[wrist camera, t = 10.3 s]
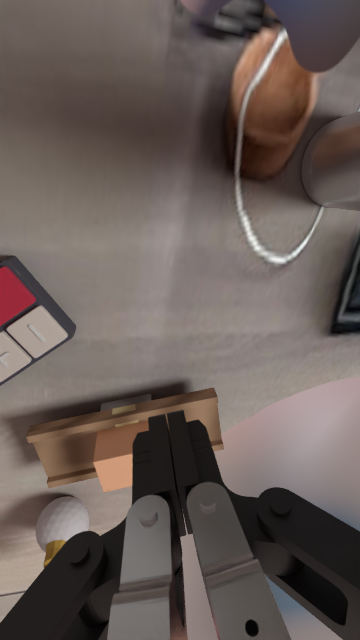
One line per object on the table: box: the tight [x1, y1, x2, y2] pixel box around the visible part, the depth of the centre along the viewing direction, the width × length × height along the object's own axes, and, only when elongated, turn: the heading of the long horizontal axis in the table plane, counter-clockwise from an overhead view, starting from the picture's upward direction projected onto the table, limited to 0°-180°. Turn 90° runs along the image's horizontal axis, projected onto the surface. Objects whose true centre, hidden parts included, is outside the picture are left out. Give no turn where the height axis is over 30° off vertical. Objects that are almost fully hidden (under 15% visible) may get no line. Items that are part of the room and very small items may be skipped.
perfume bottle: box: [36, 496, 89, 568], centre depth 46 cm, size 8×10×12 cm
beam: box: [26, 388, 224, 488], centre depth 43 cm, size 24×9×5 cm, turn 99°
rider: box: [93, 421, 149, 492], centre depth 40 cm, size 7×5×5 cm
